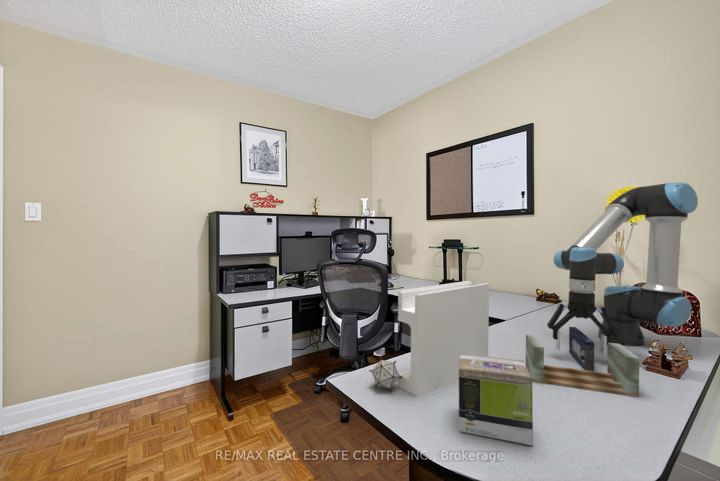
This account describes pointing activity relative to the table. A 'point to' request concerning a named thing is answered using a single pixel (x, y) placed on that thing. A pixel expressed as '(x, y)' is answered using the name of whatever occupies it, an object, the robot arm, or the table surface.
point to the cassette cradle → (616, 380)
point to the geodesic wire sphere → (385, 374)
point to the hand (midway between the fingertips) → (580, 351)
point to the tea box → (495, 398)
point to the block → (442, 331)
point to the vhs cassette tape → (581, 348)
